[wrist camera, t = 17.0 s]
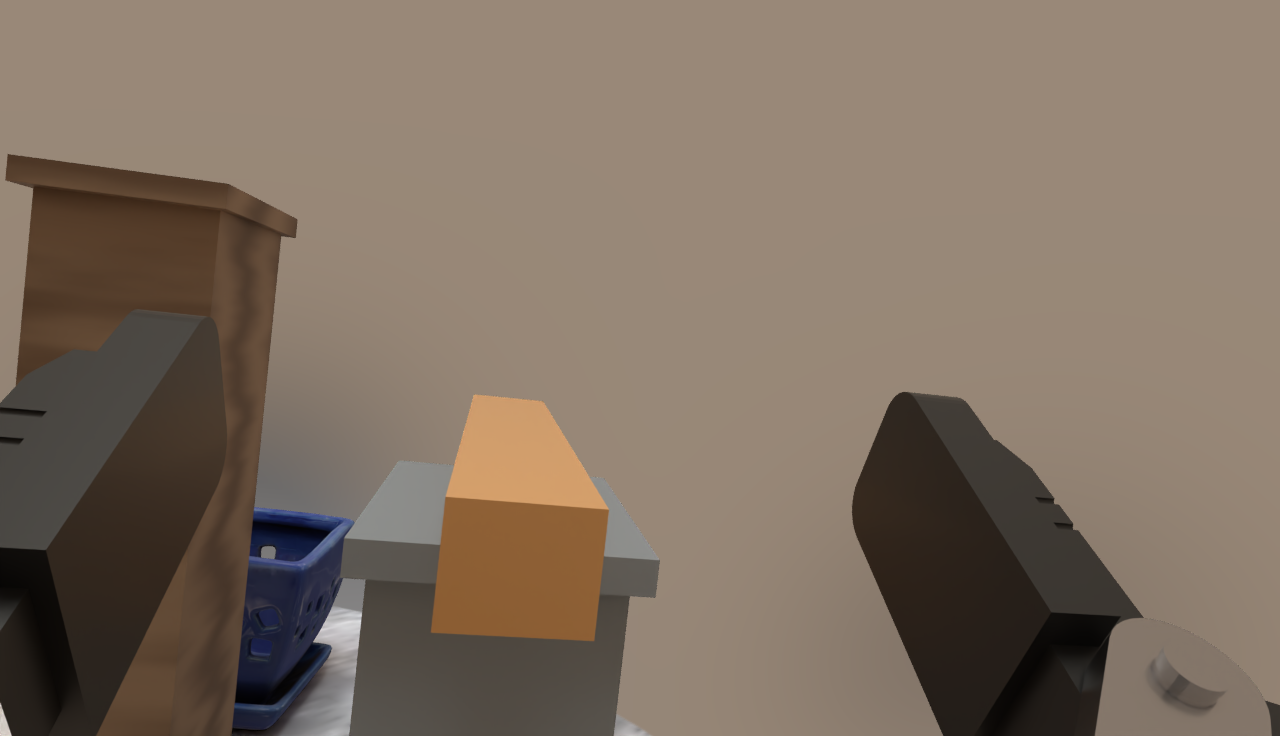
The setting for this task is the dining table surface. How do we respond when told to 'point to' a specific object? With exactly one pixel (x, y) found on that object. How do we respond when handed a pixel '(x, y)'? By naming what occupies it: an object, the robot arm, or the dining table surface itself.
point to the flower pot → (285, 610)
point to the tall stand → (243, 312)
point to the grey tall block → (476, 664)
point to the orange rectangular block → (519, 530)
